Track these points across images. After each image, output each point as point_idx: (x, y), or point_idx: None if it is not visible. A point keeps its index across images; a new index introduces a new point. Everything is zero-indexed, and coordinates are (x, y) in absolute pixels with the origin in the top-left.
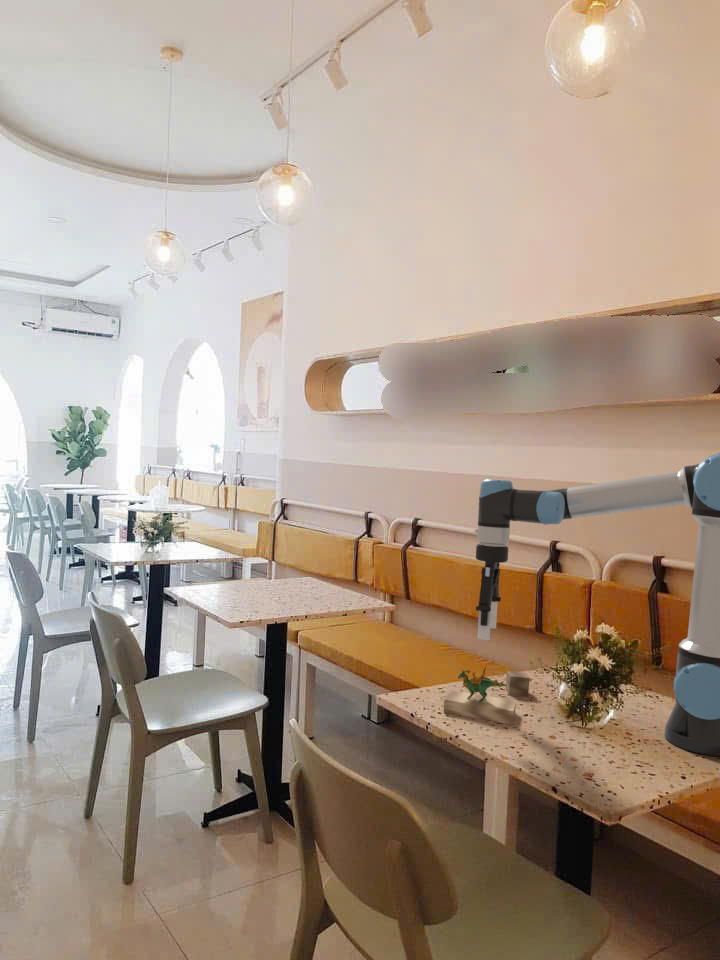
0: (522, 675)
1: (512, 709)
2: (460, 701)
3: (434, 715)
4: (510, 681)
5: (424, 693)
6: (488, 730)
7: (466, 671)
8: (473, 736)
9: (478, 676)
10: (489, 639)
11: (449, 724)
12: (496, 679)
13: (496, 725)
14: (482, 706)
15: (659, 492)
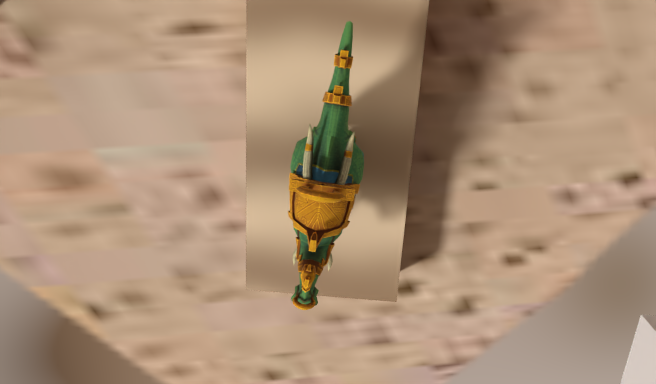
0: None
1: None
2: (391, 236)
3: (444, 302)
4: None
5: (198, 358)
6: (547, 83)
7: (308, 285)
8: (641, 141)
9: (327, 209)
10: (649, 317)
11: (528, 241)
12: (338, 98)
13: (468, 51)
14: (414, 134)
15: None
